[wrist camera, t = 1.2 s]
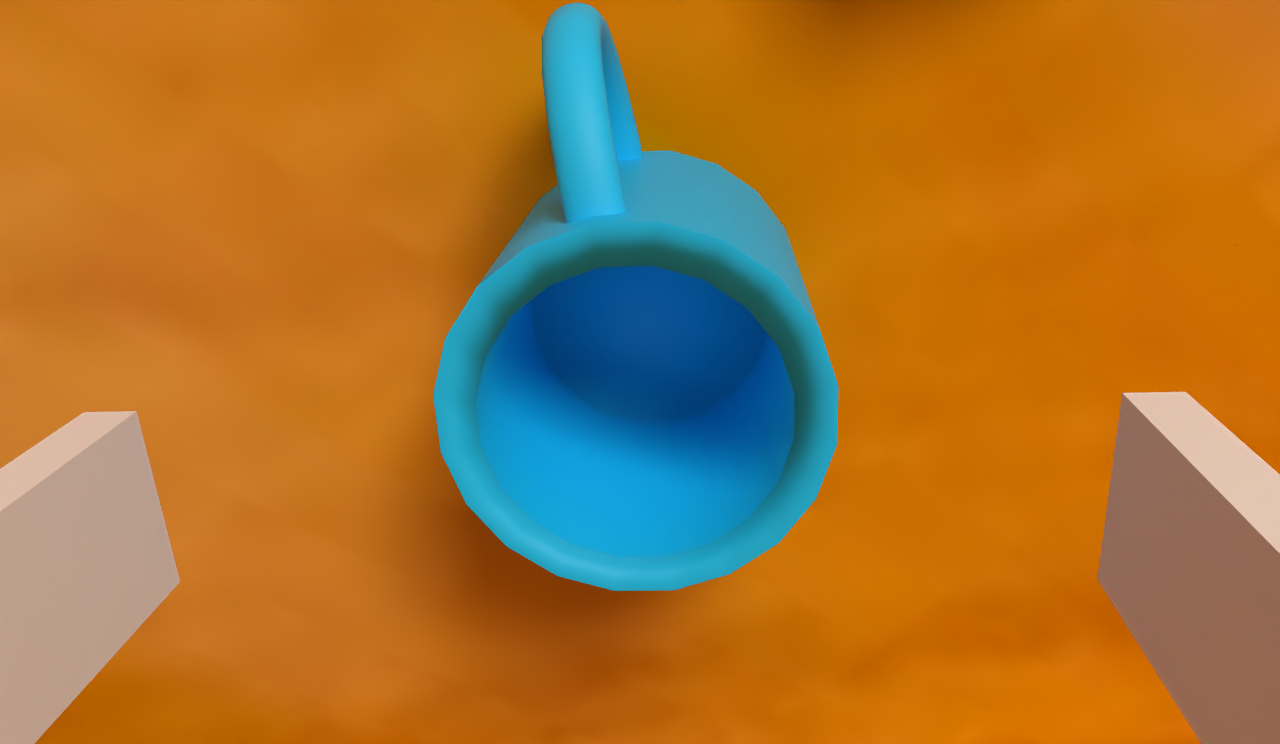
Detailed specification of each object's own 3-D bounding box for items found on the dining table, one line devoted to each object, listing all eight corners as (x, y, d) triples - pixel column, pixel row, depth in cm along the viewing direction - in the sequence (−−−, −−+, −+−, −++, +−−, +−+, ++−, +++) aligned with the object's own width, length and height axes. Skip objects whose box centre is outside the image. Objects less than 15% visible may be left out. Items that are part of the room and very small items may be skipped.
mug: (820, 406, 28) (864, 562, 21) (544, 452, 29) (491, 617, 22) (751, -37, 24) (775, -44, 17) (432, 34, 25) (319, 58, 18)
